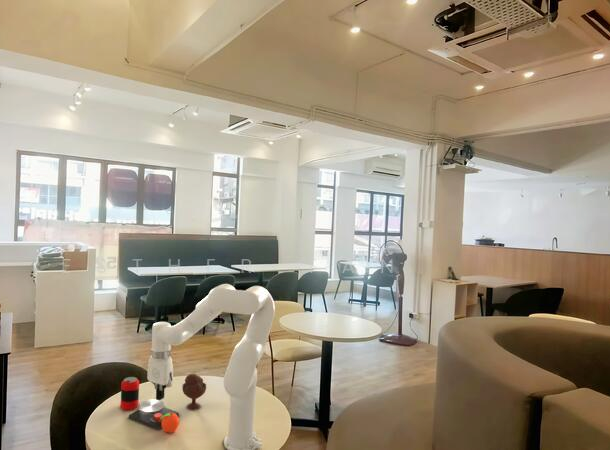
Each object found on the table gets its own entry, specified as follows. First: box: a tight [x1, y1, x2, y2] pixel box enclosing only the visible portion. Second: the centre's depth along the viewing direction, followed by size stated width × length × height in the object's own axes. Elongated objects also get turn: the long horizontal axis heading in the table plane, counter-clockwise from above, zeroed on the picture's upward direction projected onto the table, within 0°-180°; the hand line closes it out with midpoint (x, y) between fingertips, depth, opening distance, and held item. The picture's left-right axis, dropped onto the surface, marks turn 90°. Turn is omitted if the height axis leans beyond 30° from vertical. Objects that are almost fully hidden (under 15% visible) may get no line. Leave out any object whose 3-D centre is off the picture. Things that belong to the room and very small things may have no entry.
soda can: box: [120, 376, 140, 411], centre depth 163 cm, size 8×8×12 cm
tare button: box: [154, 413, 162, 421], centre depth 149 cm, size 3×3×2 cm
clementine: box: [159, 413, 180, 433], centre depth 145 cm, size 8×7×7 cm
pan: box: [137, 398, 165, 414], centre depth 157 cm, size 11×11×1 cm
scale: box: [128, 406, 180, 431], centre depth 155 cm, size 16×14×3 cm
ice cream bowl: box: [181, 373, 207, 411], centre depth 165 cm, size 11×11×15 cm
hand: (160, 398), depth 149 cm, fingers closed
